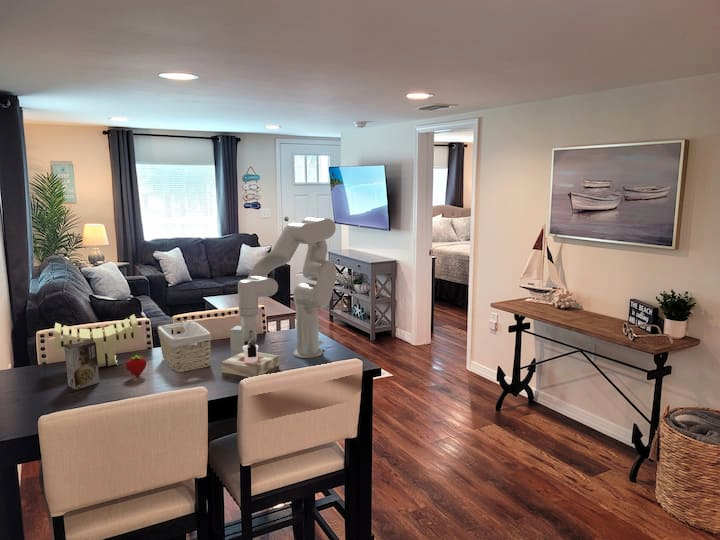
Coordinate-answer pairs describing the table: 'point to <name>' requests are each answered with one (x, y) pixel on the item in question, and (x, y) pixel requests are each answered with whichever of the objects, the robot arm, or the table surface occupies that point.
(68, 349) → the coffee box
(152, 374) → the table surface
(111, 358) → the slatted curved stool
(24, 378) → the table surface
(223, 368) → the socket block
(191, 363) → the storage basket
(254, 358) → the beverage cup
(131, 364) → the strawberry
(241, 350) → the supplement box
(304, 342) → the robot arm
